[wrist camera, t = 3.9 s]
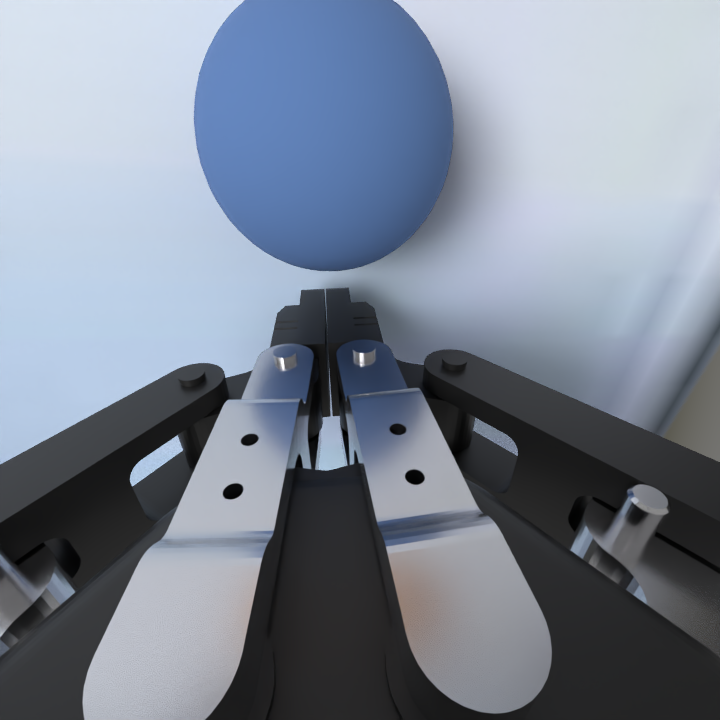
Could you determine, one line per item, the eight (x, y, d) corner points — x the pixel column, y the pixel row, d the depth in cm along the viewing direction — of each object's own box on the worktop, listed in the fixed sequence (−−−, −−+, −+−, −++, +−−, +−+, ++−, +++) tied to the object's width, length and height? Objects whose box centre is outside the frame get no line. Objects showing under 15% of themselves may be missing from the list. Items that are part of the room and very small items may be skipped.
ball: (219, 321, 10) (237, 180, 12) (441, 315, 10) (410, 180, 13) (106, 51, 5) (177, -77, 8) (536, 62, 5) (453, -62, 8)
